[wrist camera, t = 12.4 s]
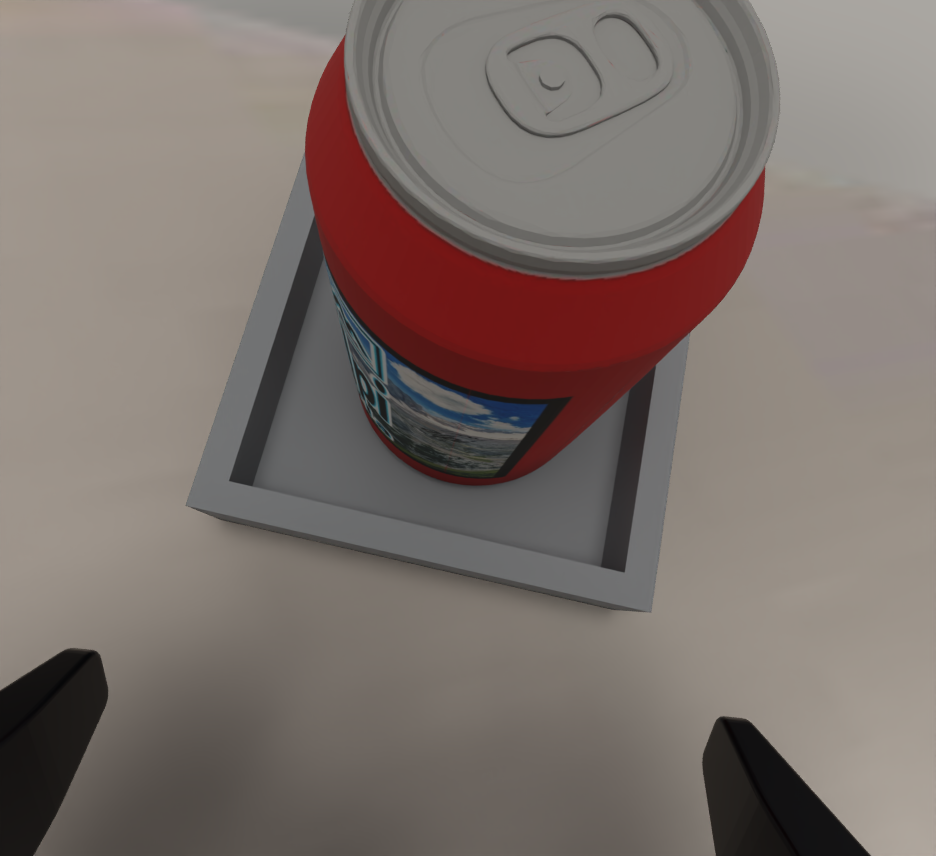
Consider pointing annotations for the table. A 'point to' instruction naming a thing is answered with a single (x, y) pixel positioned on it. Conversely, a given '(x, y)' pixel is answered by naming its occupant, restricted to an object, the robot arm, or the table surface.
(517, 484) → the coaster tray
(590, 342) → the beverage can
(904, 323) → the table surface
